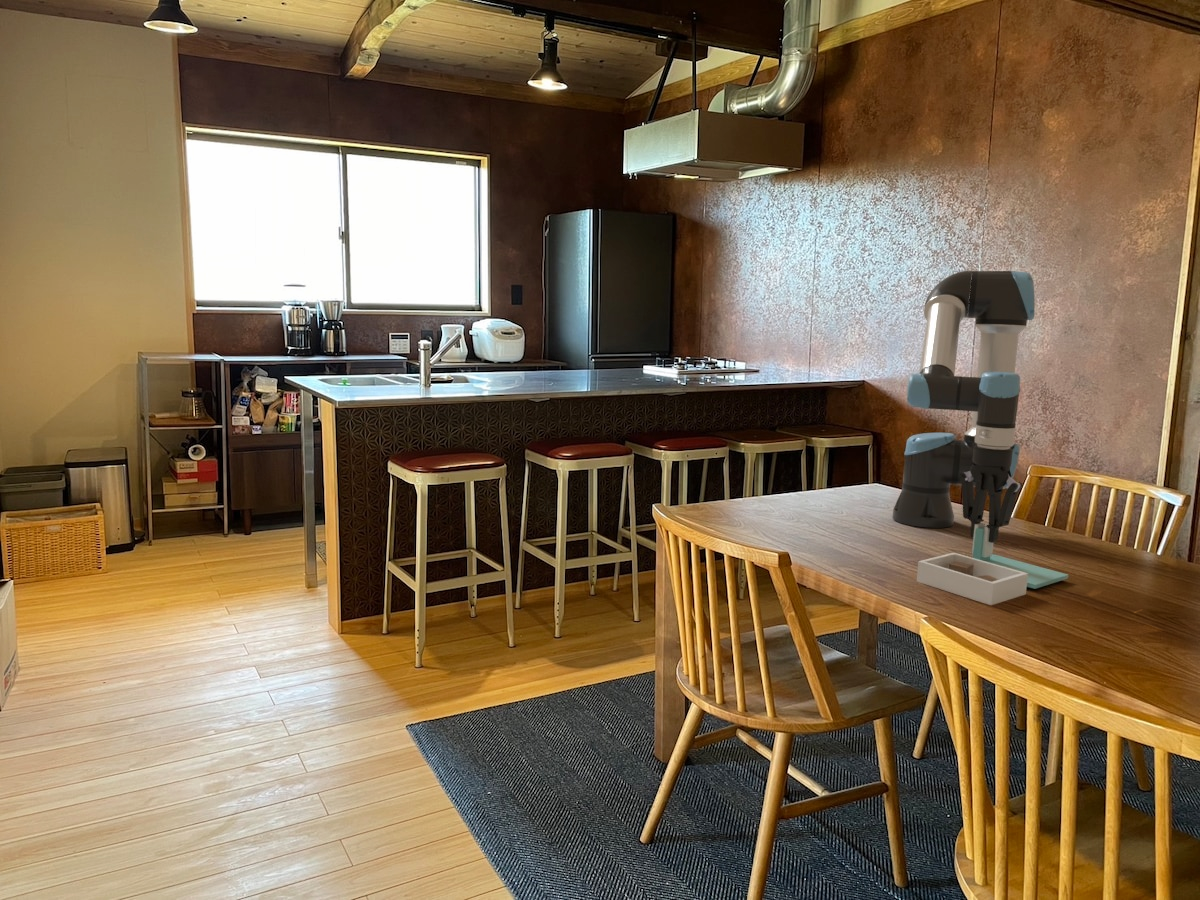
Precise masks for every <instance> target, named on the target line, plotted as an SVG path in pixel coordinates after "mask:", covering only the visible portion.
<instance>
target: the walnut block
mask: <svg viewBox="0 0 1200 900" xmlns="http://www.w3.org/2000/svg"><path fill="white" fill-rule="evenodd" d="M973 567H974V564H969V563H965V562H961V561H954V562H952V563H950V564H949V569H950V570H954V571H957V572H961V573H964V574H967V575H971V576H973Z"/></svg>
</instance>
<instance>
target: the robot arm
mask: <svg viewBox="0 0 1200 900" xmlns="http://www.w3.org/2000/svg"><path fill="white" fill-rule="evenodd" d="M1034 284H1035V283H1034V279H1033V276H1032V275H1031V274H1030V273H1029V272H1027V271H1018V270H1017V271H1016V270H1006V271H1005V270H964V271H962V270H961V271H957V272H955V273H953V274H951V275H949V276H947V277H945V278H944V279H942V280H941V281H939V283H937V284H936V285H935V286H934V287H933V289H931V291H930V292H929V293H928V295H927V297H926V300H925V302H924V309H923V315H924V318H925V320H926V323H925V325H926V326H925V330H924V331H925V332H924V339H923V344H922V345H923V347H922V353H921V361H920V367H919V371H918V372H919V373H912V374H910V376H909V378H908V383H907V392H906V403H907V405H908V406H909V407H911V408H912V407H913V408H921V409H924V410H926V409H927V410H929V409H930V410H931V409H932V410H948V411H962V412H963V411H964V412H972V419H971V427H970V428H969V429H968V430H966V431H965V432H964V434H963V439H956V435H955V434H954V433H953V432H952V433H951V432H924V433H917V434H914V435H911V436H909V438H907V440H906V444H905V445H906V446H905V451H904V453H903V454H904V466H903V472H902V473H903V475H902V485H901V492H900V493H899V496H898V498H897V499H896V500H897V501H896V503H895V505H894V507H893V510H892V519H893V520H894V521H895V522H897V523H901V524H904V525H908V526H913V527H917V528H919V527H920V528H927V529H929V528H930V529H940V528H941V529H942V528H943V529H945V528H950V527H953V526H954V523H955V513H954V510H953V506H952V505H953V504H952V501H951V497H950V491H951V490H950V489H951V485H952V486H953V485H954V486H961V495H962V496H961V497H962V499H961V501H962V516H963V518H964V519H965V520H966V519H967V520H968V521H969V522H970V523H971V524H970V538H972V545H971V546H972V548H971V555H973V551H974V541H975V532H976V528H980V527H984V526H987V527H985V531H984V540H983V550H982V557H989V556H992V554H994V553H993V552H994V543H997V541H998V538H999V532H1000V531H999V528H1003V527H1006V526H1008V525H1009V523H1010V521H1011V517H1012V514H1013V509H1014V507H1015V503H1016V500H1017V495H1018V493H1019V491H1021V489H1022V488H1023V483H1022V482H1020V481H1019V482H1017V481H1016V480H1015V479H1014V476H1015V472H1016V470H1017V465H1018V461H1019V455H1020V451H1021V450H1020V449H1021V447H1020V444H1018V443H1015V436H1016V433H1015V432H1016V424H1017V423H1016V421H1017V414H1018V407H1019V399H1020V392H1021V375H1020V374H1018V373H1016V365H1017V364H1016V362H1017V355H1018V346H1019V345H1018V344H1019V335H1020V333H1021V332H1022V331H1024V330H1025V329H1026V328H1027V323H1028V321H1032V320H1034V318H1035V307H1036V305H1035V301H1036V300H1035V299H1036V298H1035V285H1034ZM965 318H968V319H975V324H974V326H975V327H976V328H977V330H978V331H980V338H979V339H980V341H979V351H978V359H977V361H978V362H977V369H976V376H960V375H955V373H956V364H957V354H958V345H959V344H958V343H959V335H960V334H959V333H960V327H961V325H960V324H961V322H962V321H963V319H965ZM1004 489H1006V490H1005V494H1004V497H1003V499H1002V495H1003V491H1004ZM987 495H988V496H987ZM987 497H989V499H988V501H989V502H988V503H989V505H988V524H987V525H986V523H984V521H985V519H983V518H984V511H985V506H986V501H987ZM1002 500H1003V501H1002Z"/></svg>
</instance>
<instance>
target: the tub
mask: <svg viewBox="0 0 1200 900" xmlns="http://www.w3.org/2000/svg"><path fill="white" fill-rule="evenodd" d="M954 561H961V562H965V563H969V564H974V567H973V576H971V575H967V574H964V573H961V572H957V571H954V570H950V569H949V564H950V563H952V562H954ZM984 575H989V576H992V577H994V578H997V579H999V580H996V581H993V582H991V581H987V580H984V579H981V578H977V577H974V576H984ZM1027 579H1028V573H1025V572H1021V571H1018V570H1014V569H1011V568H1007V567H1003V566H1000V565H996V564H993V563H989V562H986V561H982V560H978V559H975V558H973V557H971V556H969V555H968V556H967V555H963V554H960V553H957V552H951V553H947V554H946V553H945V554H942V555H938V556H934V557H931V558H927V559H923V560H922V559H921V560H918V563H917V573H916V582H917V583H920V584H922V585H926V586H930V587H932V588H935V589H937V590H938V589H939V590H942V591H944V592H948V593H950V594H954V595H956V596H957V595H958V596H960V597H963V598H966V599H969V600H973V601H975V602H978V603H982V604H985V605H989V606H994V605H998V604H1000V603H1002V602H1007V601H1011V600H1012V599H1017V598H1020V597H1022V596H1025V595H1027V588H1028V587H1027Z"/></svg>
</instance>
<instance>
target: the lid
mask: <svg viewBox="0 0 1200 900" xmlns="http://www.w3.org/2000/svg"><path fill="white" fill-rule="evenodd" d="M985 527H987V525H985V526H984V527H980V528H976V532H975V541H974V551H973V554H972V558H975V559H978V560H982V561H986V562H989V563H993V564H996V565H1000V566H1003V567H1007V568H1011V569H1014V570H1018V571H1021V572H1025V573H1028V579H1027V588H1030V589H1039V588H1042V587H1045V586H1048V585H1051V584H1055V583H1058V582H1060V581H1065V580H1067V579H1069V574H1067V573H1063V572H1060V571H1056V570H1053V569H1049V568H1045V567H1042V566H1037V565H1034V564H1031V563H1027V562H1024V561H1020V560H1016V559H1012V558H1010V557H1009V558H1008V557H1006V556H1002V555H999V554H998V555H997V554H994V553H992V556H989V557H982V550H983V540H984V531H985Z"/></svg>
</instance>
